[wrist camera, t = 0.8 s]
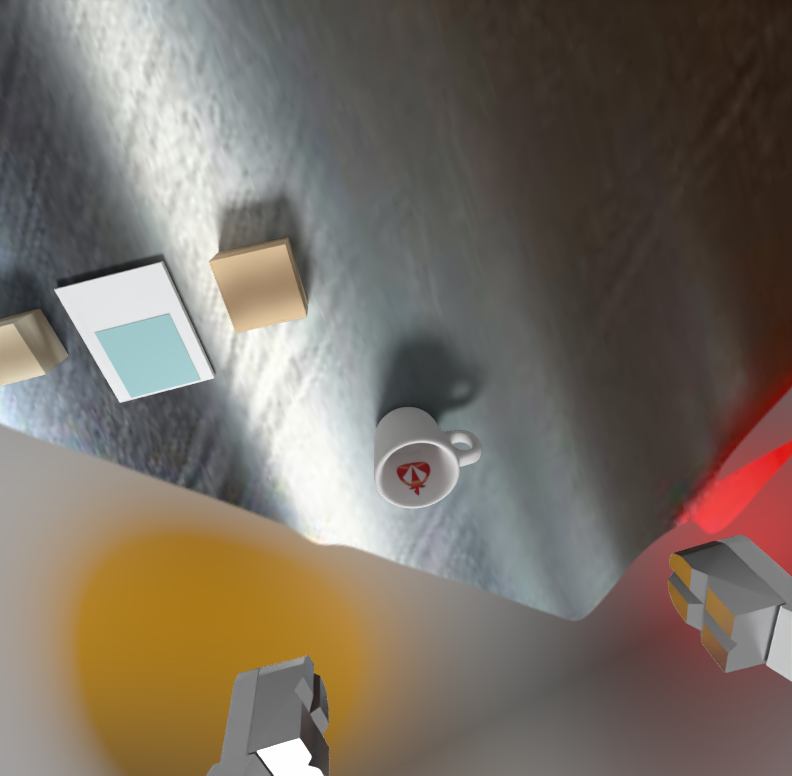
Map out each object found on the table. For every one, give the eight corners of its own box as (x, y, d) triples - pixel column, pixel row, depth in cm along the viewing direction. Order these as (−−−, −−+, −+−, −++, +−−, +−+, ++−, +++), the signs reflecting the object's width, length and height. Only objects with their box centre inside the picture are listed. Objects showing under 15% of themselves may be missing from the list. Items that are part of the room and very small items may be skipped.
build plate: (57, 287, 39) (53, 289, 38) (163, 260, 39) (160, 262, 39) (122, 399, 44) (119, 402, 44) (215, 375, 44) (213, 378, 44)
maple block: (-12, 321, 40) (-45, 338, 36) (40, 308, 40) (12, 323, 36) (20, 368, 42) (-9, 388, 38) (69, 355, 42) (45, 374, 38)
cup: (466, 387, 49) (490, 428, 42) (467, 450, 52) (490, 497, 45) (363, 402, 48) (369, 445, 41) (371, 465, 51) (379, 515, 44)
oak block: (219, 251, 40) (208, 261, 36) (288, 236, 40) (285, 244, 36) (243, 318, 42) (236, 333, 39) (308, 303, 43) (306, 316, 39)
